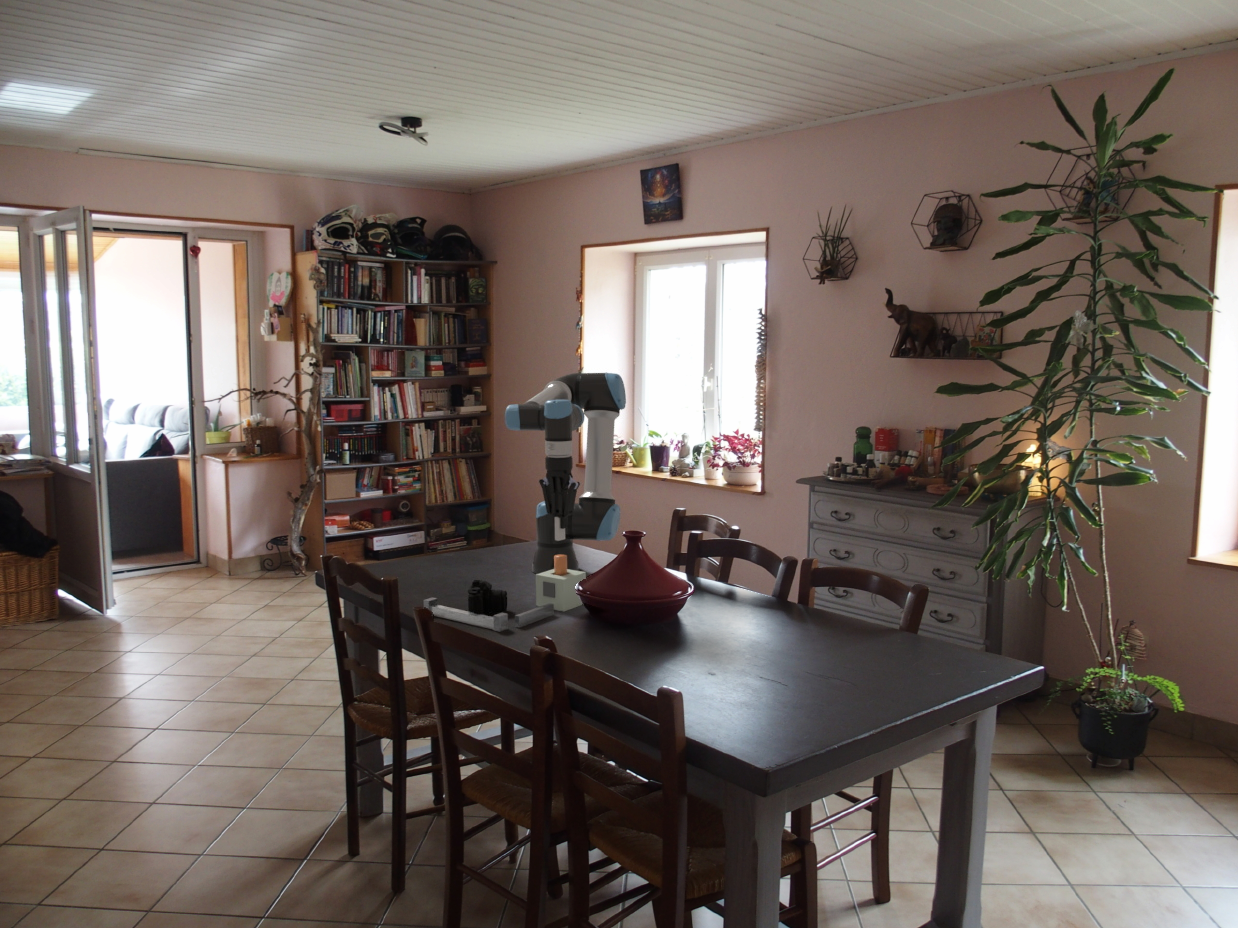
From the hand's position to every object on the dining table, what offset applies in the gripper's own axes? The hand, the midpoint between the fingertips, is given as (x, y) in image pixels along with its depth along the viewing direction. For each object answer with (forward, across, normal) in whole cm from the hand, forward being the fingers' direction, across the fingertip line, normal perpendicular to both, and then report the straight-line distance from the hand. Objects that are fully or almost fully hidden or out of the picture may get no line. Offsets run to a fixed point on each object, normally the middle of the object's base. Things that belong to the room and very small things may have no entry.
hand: (560, 539), depth 264 cm
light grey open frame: (+19, -10, -19) cm, 28 cm away
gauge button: (+11, 0, 0) cm, 11 cm away
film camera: (+19, -12, -17) cm, 28 cm away
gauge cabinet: (+19, 0, 0) cm, 19 cm away
